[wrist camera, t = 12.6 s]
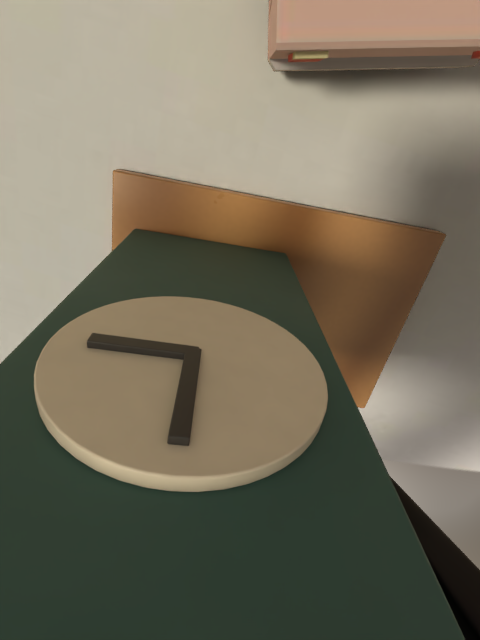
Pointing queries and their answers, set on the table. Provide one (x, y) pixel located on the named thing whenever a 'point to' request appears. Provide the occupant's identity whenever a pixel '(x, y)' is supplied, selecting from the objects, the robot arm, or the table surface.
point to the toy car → (373, 34)
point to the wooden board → (301, 258)
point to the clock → (197, 466)
